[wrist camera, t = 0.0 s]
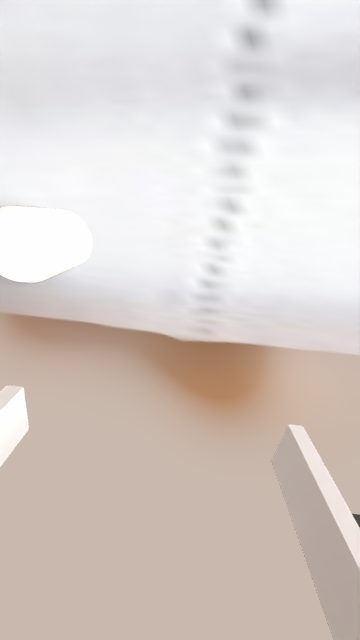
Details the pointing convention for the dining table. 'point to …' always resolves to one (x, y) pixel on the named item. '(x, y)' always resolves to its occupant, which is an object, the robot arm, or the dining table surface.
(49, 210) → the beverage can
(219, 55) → the dining table surface
